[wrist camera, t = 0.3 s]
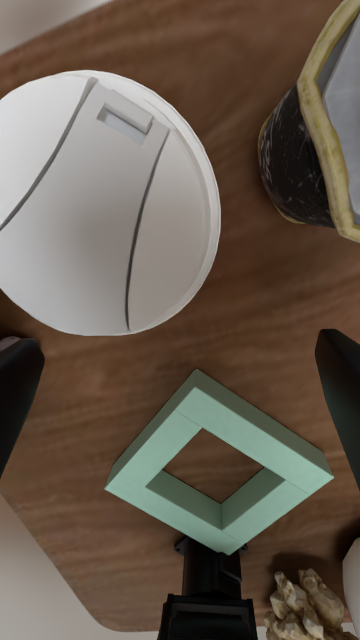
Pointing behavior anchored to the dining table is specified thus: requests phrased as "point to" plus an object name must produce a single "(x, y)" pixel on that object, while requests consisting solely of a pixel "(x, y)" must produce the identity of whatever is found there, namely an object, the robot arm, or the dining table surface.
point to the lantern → (319, 133)
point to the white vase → (353, 583)
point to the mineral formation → (305, 610)
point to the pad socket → (242, 433)
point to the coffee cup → (102, 204)
